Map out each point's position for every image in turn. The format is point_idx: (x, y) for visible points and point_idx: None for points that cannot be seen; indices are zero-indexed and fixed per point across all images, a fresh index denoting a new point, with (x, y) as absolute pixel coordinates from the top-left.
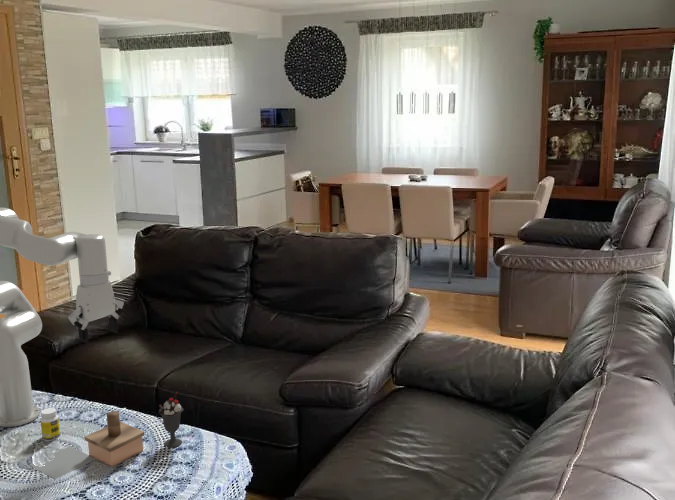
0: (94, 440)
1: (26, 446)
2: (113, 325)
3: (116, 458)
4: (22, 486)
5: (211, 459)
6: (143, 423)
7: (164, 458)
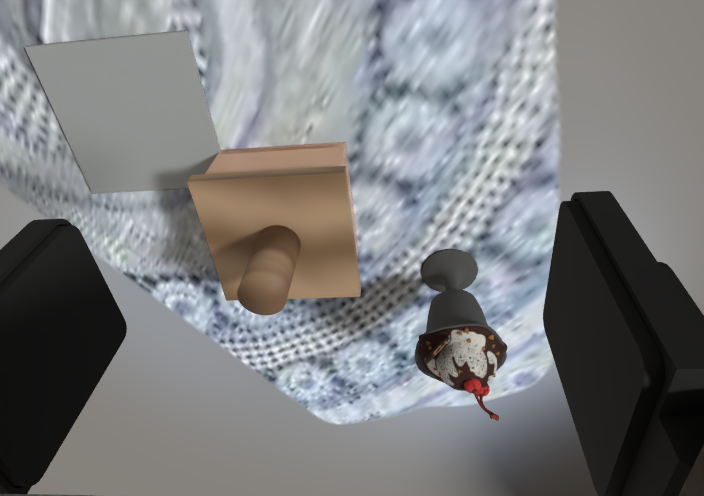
0: (206, 228)
1: None
2: (577, 377)
3: None
4: (3, 149)
5: None
6: (492, 85)
7: (377, 307)
